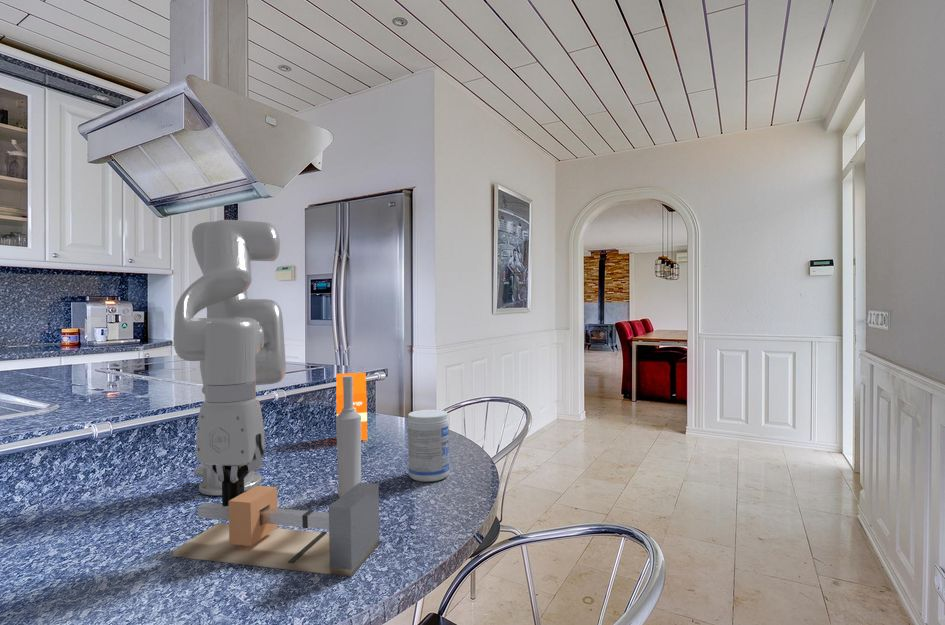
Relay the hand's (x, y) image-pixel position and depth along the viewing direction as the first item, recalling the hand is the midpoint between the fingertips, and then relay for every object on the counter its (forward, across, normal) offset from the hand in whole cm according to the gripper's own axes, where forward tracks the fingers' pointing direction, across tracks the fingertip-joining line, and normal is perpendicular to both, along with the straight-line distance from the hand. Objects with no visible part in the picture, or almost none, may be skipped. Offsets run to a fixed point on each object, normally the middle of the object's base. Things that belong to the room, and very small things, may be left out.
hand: (233, 503), depth 80 cm
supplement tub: (+7, +21, +38) cm, 44 cm away
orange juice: (+7, -12, +65) cm, 66 cm away
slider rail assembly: (+7, +9, 0) cm, 11 cm away
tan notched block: (+5, +4, 0) cm, 6 cm away
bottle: (+7, +8, +24) cm, 27 cm away
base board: (+7, +9, 0) cm, 11 cm away
